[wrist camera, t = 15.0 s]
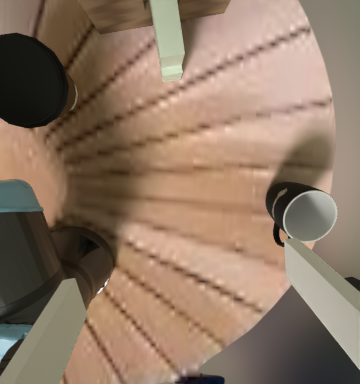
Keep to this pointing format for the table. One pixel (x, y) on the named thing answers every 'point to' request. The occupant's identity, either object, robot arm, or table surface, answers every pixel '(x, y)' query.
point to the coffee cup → (32, 83)
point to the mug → (300, 211)
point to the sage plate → (168, 38)
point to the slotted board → (142, 12)
